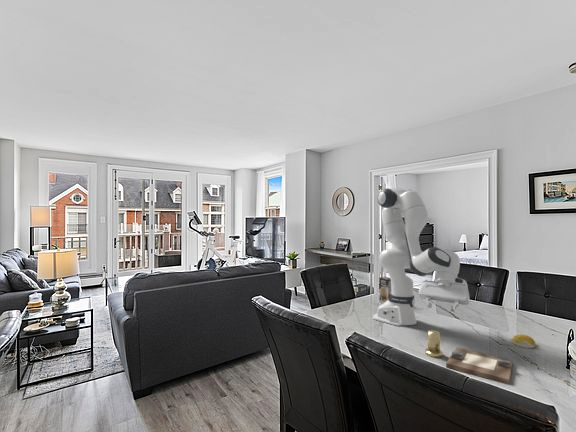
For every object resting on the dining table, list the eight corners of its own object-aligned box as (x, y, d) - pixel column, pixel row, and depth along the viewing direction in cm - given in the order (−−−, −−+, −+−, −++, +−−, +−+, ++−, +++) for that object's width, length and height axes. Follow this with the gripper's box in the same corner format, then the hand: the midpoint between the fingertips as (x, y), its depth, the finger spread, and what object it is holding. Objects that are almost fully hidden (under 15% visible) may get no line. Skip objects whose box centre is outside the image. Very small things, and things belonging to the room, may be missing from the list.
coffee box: (378, 301, 207) (378, 277, 207) (387, 301, 209) (386, 276, 209) (387, 305, 198) (387, 279, 198) (396, 304, 201) (396, 279, 201)
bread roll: (534, 343, 138) (534, 334, 138) (536, 350, 131) (535, 340, 131) (511, 339, 143) (511, 330, 143) (511, 345, 136) (511, 336, 136)
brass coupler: (423, 354, 127) (423, 332, 127) (427, 349, 132) (427, 328, 132) (440, 359, 123) (440, 336, 123) (444, 353, 127) (444, 331, 128)
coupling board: (446, 367, 116) (446, 358, 116) (456, 351, 130) (456, 343, 130) (508, 384, 104) (508, 374, 104) (512, 364, 118) (512, 355, 118)
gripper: (420, 276, 148) (414, 301, 140) (470, 281, 135) (466, 308, 127) (423, 283, 151) (417, 308, 144) (471, 289, 139) (468, 317, 131)
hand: (440, 308), depth 135 cm, fingers open, 8 cm apart
